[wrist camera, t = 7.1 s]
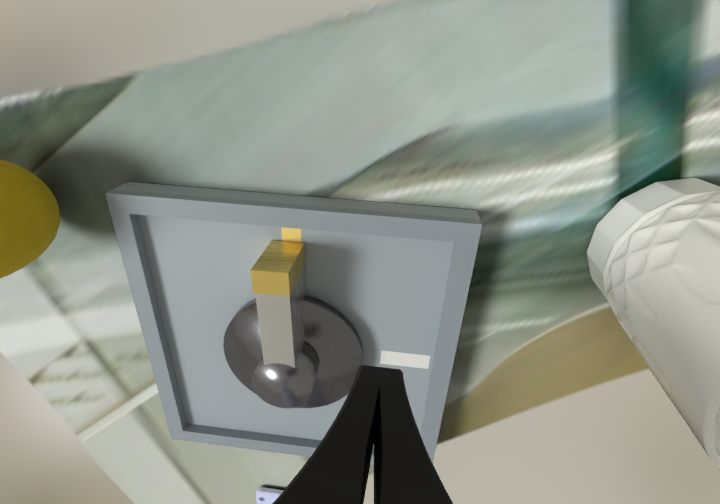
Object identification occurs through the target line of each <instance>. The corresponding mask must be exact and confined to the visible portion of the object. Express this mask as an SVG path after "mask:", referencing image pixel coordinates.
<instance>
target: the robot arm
mask: <svg viewBox="0 0 720 504" xmlns="http://www.w3.org/2000/svg"><path fill="white" fill-rule="evenodd" d="M373 445H374V504H453V503H452V501H451V499H450V497H449V495H448V493H447V492H446V490H445V488H444V486H443V484H442V482H441V480H440V478H439V476H438V474H437V472H436V470H435V468H434V466H433V463H432V461H431V459H430V457H429V455H428V452H427V450H426V447H425V445H424V443H423V440H422V438H421V435H420V433H419V430H418V427H417V424H416V422H415V419H414V416H413V413H412V410H411V407H410V403H409V400H408V396H407V393H406V388H405V384H404V378H403V372H402V371H401V370H400V369H393V368H384V367H376V366H367V365H361V366H360V367H358V371H357V374H356V377H355V380H354V383H353V385H352V387H351V389H350V392H349V394H348V396H347V398H346V400H345V402H344V404H343V406H342V407H341V409H340V411H339V413H338V415H337V417H336V418H335V420H334V422H333V423H332V425H331V427H330V428H329V430H328V431H327V433H326V435H325V436H324V438H323V439H322V441H321V442H320V444H319V445H318V447H317V448H316V450H315V451H314V453H313V454H312V455H311V457H310V458H309V460H308V461H307V462H306V464H305V465H304V466H303V468H302V469H301V470H300V471H299V473H298V474H297V475H296V476H295V478H294V479H293V480H292V481H291V483H290V484H289V485H288V486H287V488H286V489H285V490H278V489H271V488H264V487H260V488H258V489H257V491H256V500H257V504H363V501H364V496H365V490H366V484H367V479H368V473H369V468H370V462H371V456H372V450H373Z"/></svg>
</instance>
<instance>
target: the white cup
mask: <svg viewBox="0 0 720 504" xmlns="http://www.w3.org/2000/svg"><path fill="white" fill-rule="evenodd" d="M587 258H588V264H589V269H590V275H591V278H592V280H593V281H594V283H595V284H596V285H597V287H598V288H599V290H600V291H601V292H602V294H603V295H604V297H605V298H606V299H607V301H608V302H609V304H610V306H611V308H612V310H613V312H614V314H615V316H616V318H617V320H618V322H619V323H620V325H621V326H622V328H623V329H624V331H625V332H626V334H627V335H628V336H629V338H630V339H631V341H632V344H633V345H634V347H635V348H636V350H637V351H638V353H639V354H640V356H641V357H642V359H643V360H644V362H645V363H646V365H647V366H648V368H649V369H650V371H651V372H652V373H653V375H654V376H655V378H656V379H657V381H658V382H659V384H660V385H661V387H662V388H663V390H664V391H665V392H666V394H667V395H668V397H669V398H670V400H671V401H672V403H673V404H674V406H675V407H676V409H677V410H678V412H679V413H680V414H681V416H682V417H683V419H684V420H685V422H686V423H687V425H688V426H689V427H690V429H691V431H692V432H693V434H694V435H695V436H696V438H697V440H698V441H699V443H700V444H701V445H702V447H703V449H704V450H705V451H706V453H707V454H708V456H709V457H710V459H711V460H712V462H713V463H714V464H715V466H716V467H717V468H718V469H719V470H720V186H719V185H716V184H713V183H710V182H707V181H704V180H701V179H698V178H686V179H677V180H668V181H660V182H655V183H653V184H651V185H649V186H647V187H645V188H643V189H641V190H639V191H637V192H635V193H633V194H631V195H629V196H627V197H625V198H623V199H621V200H620V201H619V202H618V203H617V204H616V205H615V206H614V207H613V208H612V209H611V210H610V211H609V212H608V213H607V214H606V215H605V216H604V217H603V218H602V219H601V221H600V222H599V223H598V224H597V225H596V228H595V231H594V233H593V236H592V239H591V241H590V244H589V246H588V249H587Z"/></svg>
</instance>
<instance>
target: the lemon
mask: <svg viewBox="0 0 720 504" xmlns="http://www.w3.org/2000/svg"><path fill="white" fill-rule="evenodd" d="M59 223H60V211H59V207H58V204H57V200H56V199H55V197H54V195H53V193H52V191H51V190H50V189H49V188H48V186H47V185H46V184H45V183H44V182H43V181H42V180H41V179H40V178H38V177H37V176H36V175H34V174H33V173H31V172H30V171H28V170H27V169H24V168H22V167H20V166H17V165H15V164H13V163H10V162H7V161H3V160H0V278H2V277H5V276H7V275H9V274H11V273H13V272H15V271H17V270H19V269H21V268H23V267H25V266H26V265H28V264H30V263H31V262H33V261H34V260H35V259H37V258H38V257H39V256H40V255H41V254H42V253H43V252H44V251H45V250H46V249H47V248H48V246H49V245H50V244H51V243H52V241H53V240H54V238H55V236H56V234H57V231H58V227H59Z"/></svg>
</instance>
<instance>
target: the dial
mask: <svg viewBox="0 0 720 504" xmlns="http://www.w3.org/2000/svg"><path fill="white" fill-rule="evenodd" d="M250 273H251V281H252V289H253V293H255V297H256V298H255V299H253V300H251V301H249V302H248V303H246V304H245V305H244V306H242V307H241V308H240V309H239V310H238V311H237V313H236V314H235V316H234V317H233V319H232V320H231V322H230V323H229V325H228V327H227V329H226V331H225V335H224V343H223V347H224V354H225V358H226V361H227V363H228V365H229V367H230V369H231V370H232V372H233V374H234V375H235V376H236V377H237V379H238V380H239V381H240V382H241V383H242V384H243V385H244V386H246V387H247V388H248V389H249V390H251V391H252V392H253V393H255V394H257V395H258V396H259V397H260V398H261V399H262V400H263V401H265V402H266V403H268V404H270V405H272V406H275V407H279V408H315V407H322V406H326V405H329V404H332V403H334V402H336V401H338V400H340V399H342V398H343V397H345V396H346V395H347V394H348V393H349V392H350V389H351V387H352V385H353V383H354V380H355V377H356V374H357V371H358V367H360V366H361V365H362V363H363V347H362V343H361V340H360V337H359V335H358V333H357V331H356V330H355V328H354V326H353V325H352V324H351V323H350V321H349V320H348V319H347V318H346V317H345V316H344V315H343V314H342V313H340V312H339V311H338V310H337V309H335V308H334V307H332V306H331V305H329V304H327V303H325V302H323V301H321V300H319V299H316V298H313V297H311V296H307V295H306V284H305V246H304V243H301V242H286V241H271V242H270V243H269V244H268V246H267V247H266V249H265V250H264V251H263V253H262V254H261V256H260V257H259V258H258V260H257V261H256V263H255V264H254V266H253V267H252V268H251V270H250Z"/></svg>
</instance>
